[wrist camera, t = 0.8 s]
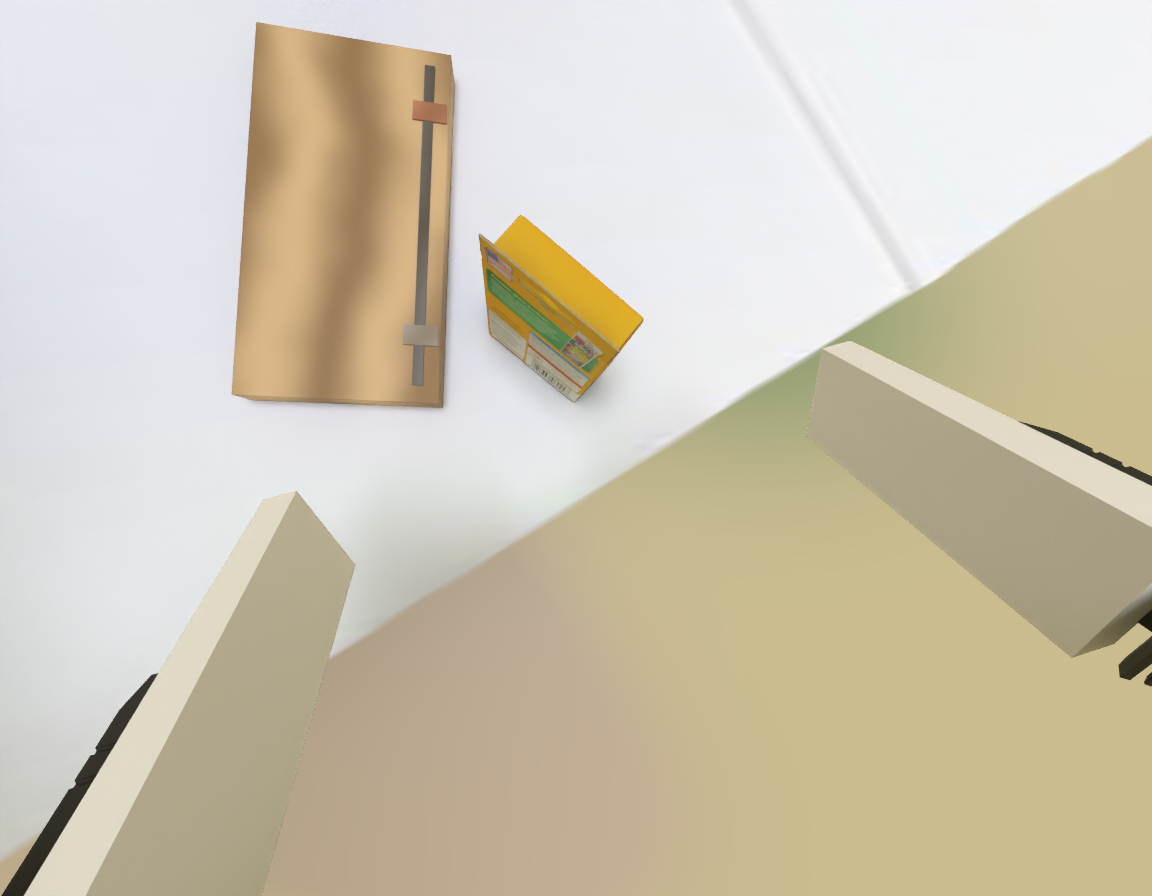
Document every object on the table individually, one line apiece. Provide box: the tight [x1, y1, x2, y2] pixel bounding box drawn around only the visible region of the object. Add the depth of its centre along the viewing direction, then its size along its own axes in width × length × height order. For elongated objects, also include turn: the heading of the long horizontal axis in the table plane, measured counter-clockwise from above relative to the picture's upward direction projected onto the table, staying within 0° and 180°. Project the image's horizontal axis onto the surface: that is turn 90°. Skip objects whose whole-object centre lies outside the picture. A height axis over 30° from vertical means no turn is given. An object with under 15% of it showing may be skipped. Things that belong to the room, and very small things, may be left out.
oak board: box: [232, 22, 454, 408], centre depth 26 cm, size 11×22×2 cm, turn 179°
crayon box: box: [479, 215, 643, 402], centre depth 22 cm, size 7×3×12 cm, turn 52°
